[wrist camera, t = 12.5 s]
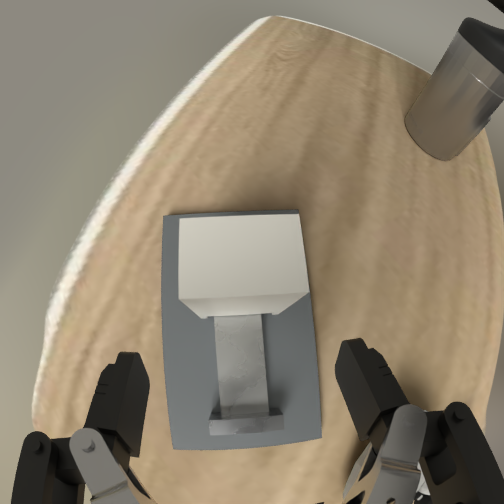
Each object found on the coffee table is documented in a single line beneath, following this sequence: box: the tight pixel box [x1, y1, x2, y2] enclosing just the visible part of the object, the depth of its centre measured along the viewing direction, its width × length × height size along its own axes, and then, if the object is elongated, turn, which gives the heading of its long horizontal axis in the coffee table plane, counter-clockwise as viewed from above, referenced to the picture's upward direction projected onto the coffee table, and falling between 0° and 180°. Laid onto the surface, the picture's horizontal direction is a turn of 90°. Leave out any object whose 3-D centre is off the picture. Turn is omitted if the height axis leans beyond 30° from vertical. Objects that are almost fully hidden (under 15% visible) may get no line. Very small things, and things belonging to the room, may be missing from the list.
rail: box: [208, 314, 285, 435], centre depth 20 cm, size 5×16×2 cm, turn 4°
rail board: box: [161, 210, 322, 450], centre depth 22 cm, size 12×20×1 cm, turn 4°
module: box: [178, 214, 309, 319], centre depth 18 cm, size 6×4×9 cm
